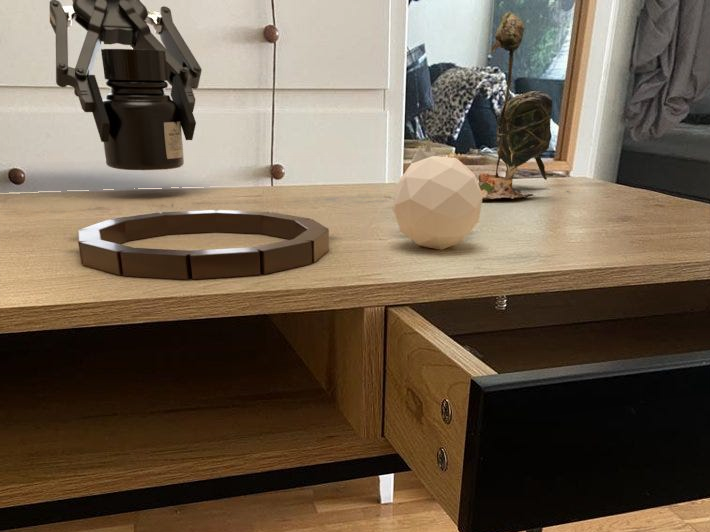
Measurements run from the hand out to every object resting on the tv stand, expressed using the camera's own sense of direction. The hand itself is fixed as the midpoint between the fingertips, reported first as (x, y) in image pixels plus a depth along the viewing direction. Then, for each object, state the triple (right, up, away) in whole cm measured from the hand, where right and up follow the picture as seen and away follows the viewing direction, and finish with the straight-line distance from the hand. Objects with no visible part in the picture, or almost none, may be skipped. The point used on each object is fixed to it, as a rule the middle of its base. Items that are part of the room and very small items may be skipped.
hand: (149, 132), depth 85 cm
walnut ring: (+10, -19, -18) cm, 28 cm away
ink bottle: (-2, -2, +4) cm, 5 cm away
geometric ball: (+30, -18, -16) cm, 38 cm away
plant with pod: (+42, -3, +12) cm, 44 cm away
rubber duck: (+30, -10, -2) cm, 32 cm away
